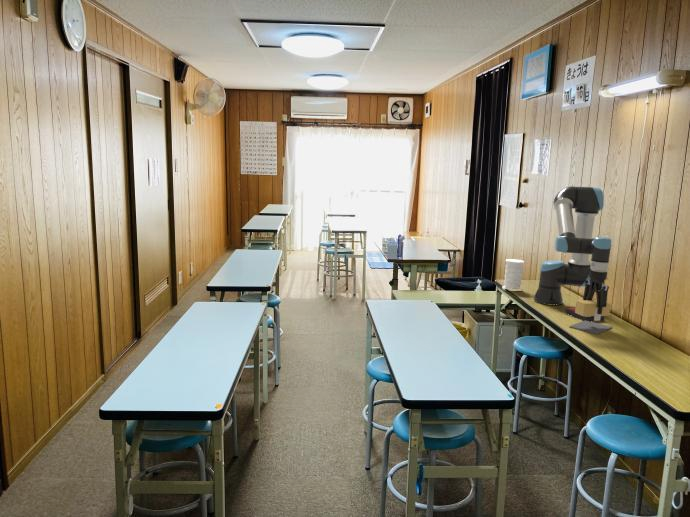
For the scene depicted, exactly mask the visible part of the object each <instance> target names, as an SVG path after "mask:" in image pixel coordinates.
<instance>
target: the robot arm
mask: <svg viewBox="0 0 690 517" xmlns="http://www.w3.org/2000/svg"><path fill="white" fill-rule="evenodd" d="M604 200H605V198H604V192H603V191H602V188H600V187H595V186H593V187H592V186H589V187H588V186H575V185H574V186H573V185H572V186H566V187H563V189H561V190H560V191H559V192H557V194H556V195H555V197H554V199H553V202H552V203H553V204H552V205H553V209H554V211H556V212H555V213H556V219H557V220H556V221H557V228H558V236H557V237H556V238H555V242H554V249H555V251H556V252H558V253H565V254H566V253H567V254H569V253H570V254H571V258H570V259H569V260H568V261H567V263H565V262H564V261H563V260H558V259H557V260H556V259H554V260H545V261H542V263H541V265H540V269H539V271H540V272H539V280H538V288H537V289H536V291H535V294H534V296H533V301H534V300H535V301H537V302H540V303H539V304H541V303H545V304H544V305H546V304H555V305H554V306H557V305H556V304H562V305H563V302H564V299H563V295H562V286H572V287H579V288H581V287H583V288H584V291H583V298H582V300H594V299H593V298H594V296H595V294H596V300H597V306H596V309H595V316H594V321H596V322H601V321H600V318H601V314H602V308H603V307H606V305H607V302H608V294H609V293H608V292H609V288H610V287H609V285H605V281H606V280H607V277H608V271H609V264H610V256H611V255H610V254H611V250H612V248H611V247H612V239H611V238H610V237H605V236H597V237H596V236H595V237H593V232H594V226H595V224H594V223H595V217H596V216H597V215H599V212H600V211H602V210H604V205H605V204H604V202H605V201H604ZM573 209H574V213H575V214H576V215H577V217H576V225H575V221H574V215H573ZM590 255H591V259H590ZM589 259H590V260H589ZM535 301H534V302H535ZM537 302H536V303H537ZM585 317H591V316H585Z"/></svg>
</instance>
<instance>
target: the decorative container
mask: <svg viewBox="0 0 690 517" xmlns="http://www.w3.org/2000/svg"><path fill="white" fill-rule="evenodd" d="M505 263H506V264H505V270H504V281H503V284H504V285H502V286H501V289H502V290H503V291H506V290H505V289H507V288H512V289H522V290H523V288H522V287H521V285H522V279H523V277H522V275H523V269H524V267H523V265H524V264H525V261H524V260H522V259H517V258H515V259H514V258H506V259H505Z"/></svg>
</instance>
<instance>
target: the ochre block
mask: <svg viewBox="0 0 690 517" xmlns="http://www.w3.org/2000/svg"><path fill="white" fill-rule="evenodd" d="M596 306H597V299H596V300H595V299H592V300H583V299H582V300H581V299H580V300H579V299H578V300H576V302H575V307H574V308H575V313H577V314H579V315H581V316H595V309H596ZM611 306H612V303H610V302H608V301H607V305H606V307H603V308H602V314H601V316H605V317H609V316H610V315H611V314H610V313H611Z"/></svg>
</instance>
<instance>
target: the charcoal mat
mask: <svg viewBox="0 0 690 517" xmlns="http://www.w3.org/2000/svg"><path fill="white" fill-rule="evenodd" d="M569 328H571V329H574V328H575V329H574V330H578V329H579V331H582V330H583V332H587V333H590V334H594V335H599V333H600V334H602V333H604V332H607V331H609V330H611V329H613V326H610V325H606V324H603V323H598V322H590V321H586V320H584V321H583V320H581V321H580V322H577V323H574V324H572V325H569ZM601 332H602V333H601Z"/></svg>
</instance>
